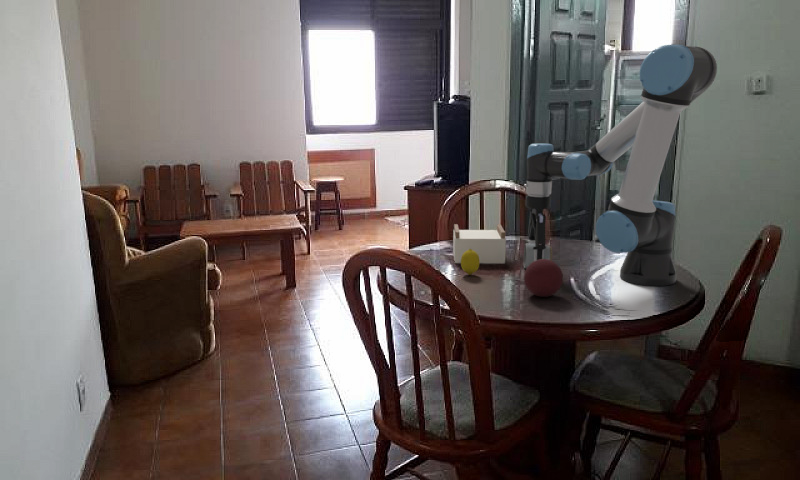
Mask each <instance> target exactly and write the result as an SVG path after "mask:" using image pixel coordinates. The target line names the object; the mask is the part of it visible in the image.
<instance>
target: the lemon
mask: <svg viewBox="0 0 800 480" xmlns="http://www.w3.org/2000/svg"><path fill="white" fill-rule="evenodd" d="M460 266H461V269H462V270H463V272H464V273H466V274H468V276H471V275H473V274H474V273H476V272H477V271H478V269H479V268H480V263H479V256H478V254H477V253H476V252H475V251H473V250H472V249H469V250H467V251H465V252H464V253H463V255H462V257H461V263H460Z"/></svg>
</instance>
